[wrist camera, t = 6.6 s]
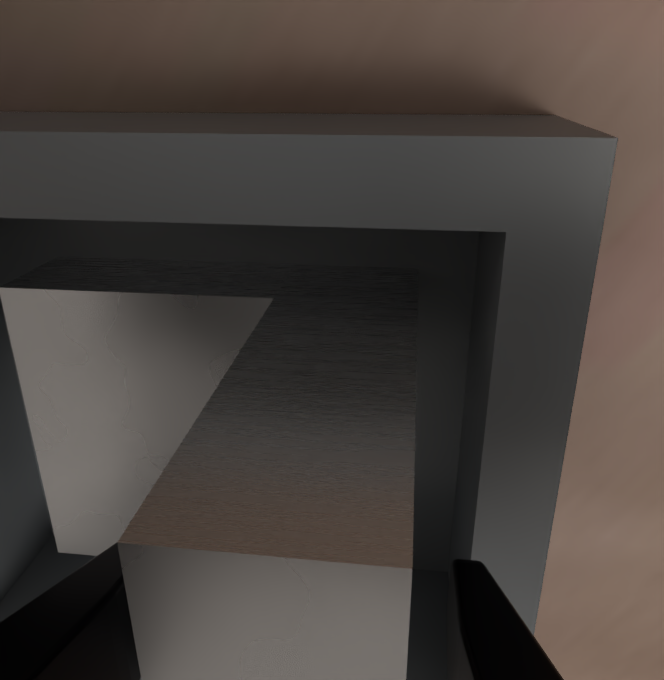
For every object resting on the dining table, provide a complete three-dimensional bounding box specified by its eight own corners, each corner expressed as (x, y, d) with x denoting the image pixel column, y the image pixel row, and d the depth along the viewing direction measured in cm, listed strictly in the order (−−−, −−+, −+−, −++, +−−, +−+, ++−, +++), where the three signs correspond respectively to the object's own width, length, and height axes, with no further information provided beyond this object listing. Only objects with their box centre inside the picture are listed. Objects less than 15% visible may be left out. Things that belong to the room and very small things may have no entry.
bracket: (405, 519, 15) (388, 974, 7) (101, 494, 15) (-187, 876, 8) (418, 268, 12) (412, 569, 5) (57, 256, 13) (-404, 496, 6)
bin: (492, 595, 16) (513, 753, 12) (30, 551, 17) (-73, 680, 14) (554, 115, 11) (617, 137, 8) (-76, 111, 13) (-274, 128, 9)
